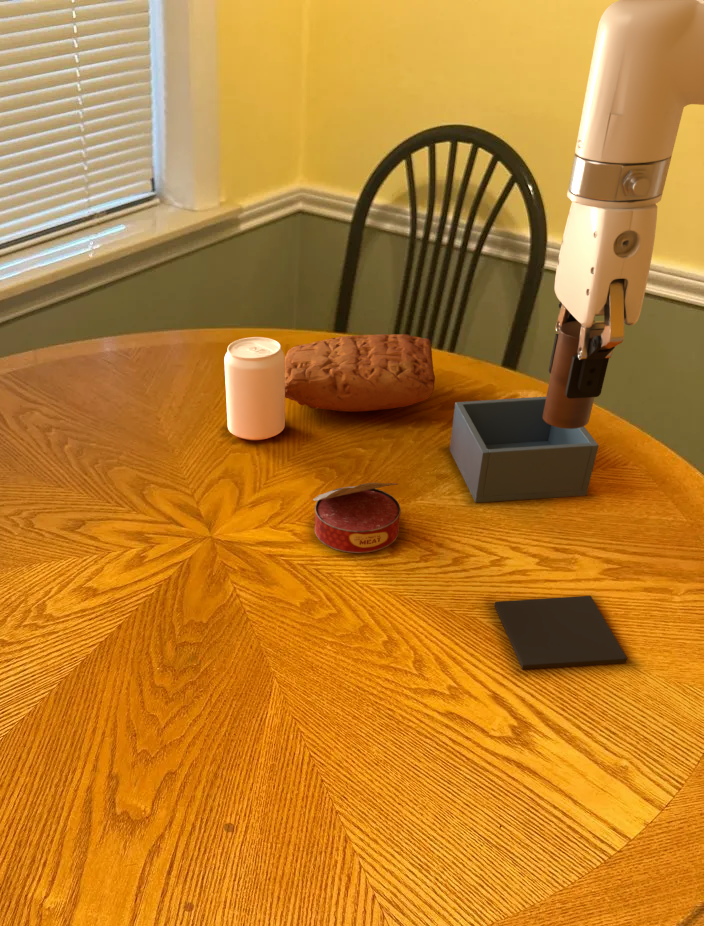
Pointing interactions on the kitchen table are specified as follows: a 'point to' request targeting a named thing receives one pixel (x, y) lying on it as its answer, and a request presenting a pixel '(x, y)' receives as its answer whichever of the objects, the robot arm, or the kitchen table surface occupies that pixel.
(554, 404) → the brown cylinder
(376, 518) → the canned food
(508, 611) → the mat
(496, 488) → the bin
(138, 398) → the kitchen table surface
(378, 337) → the inscribed clay slab
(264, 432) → the beverage can
